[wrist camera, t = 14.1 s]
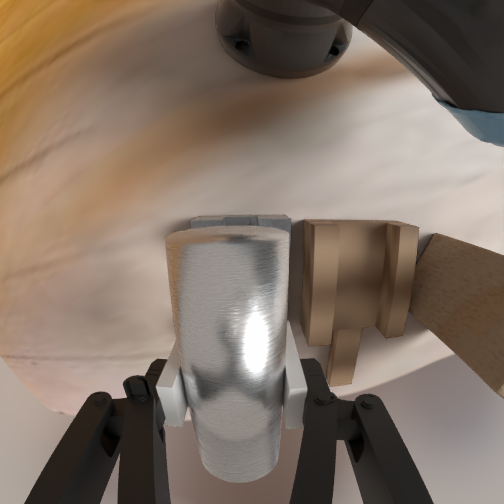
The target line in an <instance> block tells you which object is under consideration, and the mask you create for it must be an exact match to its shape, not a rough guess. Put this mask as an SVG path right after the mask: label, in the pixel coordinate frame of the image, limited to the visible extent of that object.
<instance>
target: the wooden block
mask: <svg viewBox="0 0 504 504" xmlns="http://www.w3.org/2000/svg"><path fill="white" fill-rule="evenodd" d="M408 312H410V313H411V314H412V315H413V316H414V317H415V318H417V319H418V320H419V321H420V322H421V323H422V324H423V325H425V326H426V327H427V328H428V329H429V330H430V331H431V332H432V333H434V334H435V335H436V336H437V337H438V338H439V339H440V340H441V341H442V342H443V343H445V344H446V345H447V346H448V347H449V348H450V349H451V350H452V351H453V352H454V353H455V354H456V355H458V356H459V357H460V358H461V359H462V360H463V361H464V362H465V363H466V364H467V365H468V366H469V367H470V368H471V369H472V370H473V371H475V373H476V374H477V375H478V376H479V377H480V378H481V379H482V380H483V381H484V382H485V383H486V384H488V386H489V387H490V388H491V389H493V391H494V392H496V393H497V394H498V395H500V396H501V397H502V398H504V255H501V254H498V253H495V252H493V251H490V250H487V249H484V248H481V247H478V246H475V245H472V244H469V243H466V242H463V241H460V240H457V239H454V238H451V237H448V236H444V235H441V234H438V233H435V234H434V235H433V237H432V239H431V241H430V242H429V244H428V246H427V247H426V249H425V251H424V252H423V254H422V256H421V257H420V259H419V261H418V262H417V264H416V265H415V272H414V280H413V286H412V292H411V298H410V304H409V309H408Z"/></svg>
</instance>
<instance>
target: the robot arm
mask: <svg viewBox="0 0 504 504" xmlns="http://www.w3.org/2000/svg"><path fill="white" fill-rule="evenodd" d="M215 23H216V29H217V33H218V37H219V40H220V42H221V44H222V46H223V47H224V49H225V50H226V51H227V53H228V54H229V55H230V56H231V57H232V58H234V59H235V60H236V61H237V62H239V63H240V64H242V65H243V66H245V67H247V68H249V69H251V70H254V71H256V72H259V73H262V74H265V75H269V76H274V77H281V78H300V77H308V76H312V75H315V74H318V73H321V72H323V71H325V70H327V69H329V68H330V67H332V66H333V65H334V64H336V63H337V62H338V60H339V59H340V58H341V57H342V55H343V54H344V53H345V51H346V50H347V48H348V46H349V44H350V41H351V38H352V25H354V26H355V27H356V28H357V29H359V30H360V31H362V32H363V33H364V34H366V35H367V36H368V37H370V38H371V39H372V40H374V41H375V42H376V43H378V44H379V45H380V46H381V47H383V48H384V49H385V50H386V51H388V52H389V53H390V54H391V55H392V56H394V57H395V58H396V59H397V60H398V61H399V62H400V63H402V64H403V65H404V66H405V67H406V68H407V69H408V70H409V71H410V72H411V73H413V74H414V75H415V76H416V77H417V78H418V79H419V80H420V81H421V82H422V83H423V84H424V85H425V86H426V87H427V88H428V89H429V90H430V91H431V92H432V96H433V97H434V99H435V100H436V101H437V102H438V103H439V104H440V105H442V106H443V107H445V108H446V109H447V110H448V111H449V112H450V113H451V114H452V115H453V116H454V117H455V118H456V119H457V120H458V121H459V122H460V124H461V125H462V126H463V127H464V128H465V129H466V130H467V131H468V132H469V133H470V134H471V135H473V136H474V137H476V138H477V139H479V140H481V141H484V142H487V143H492V144H494V145H496V146H501V147H504V0H220V2H219V4H218V7H217V10H216V16H215ZM123 387H124V390H125V393H126V395H127V398H122V399H112V397H111V395H110V394H109V393H106V392H95V393H93V394H91V395H90V396H89V397H88V398H87V400H86V401H85V403H84V404H83V406H82V407H81V409H80V411H79V412H78V414H77V415H76V417H75V418H74V420H73V422H72V423H71V424H70V426H69V428H68V429H67V431H66V432H65V434H64V436H63V437H62V439H61V440H60V442H59V444H58V445H57V447H56V449H55V450H54V452H53V454H52V455H51V457H50V459H49V460H48V462H47V464H46V466H45V467H44V469H43V471H42V472H41V474H40V476H39V478H38V479H37V481H36V483H35V485H34V486H33V488H32V490H31V492H30V494H29V496H28V498H27V500H26V501H25V503H24V504H100V502H101V499H102V496H103V494H104V491H105V489H106V486H107V484H108V481H109V479H110V476H111V473H112V471H113V468H114V466H115V464H116V461H117V459H118V456H119V454H120V463H119V478H118V504H171V501H170V493H169V484H168V472H167V459H166V443H165V430H164V427H163V424H164V421H165V420H166V423H167V426H172V427H181V428H182V427H183V423H184V419H185V415H186V411H187V407H188V401H187V396H186V391H185V386H184V381H183V376H182V370H181V365H180V359H179V353H178V347H177V340H176V342H175V345H174V347H173V349H172V351H171V353H170V356H169V358H168V359H156V360H155V361H154V362H153V363H151V365H150V367H149V369H148V371H147V373H146V375H145V377H144V376H139V375H136V376H131V377H129V378H127V379H126V380H125V381H124V382H123ZM283 411H284V418H285V425H286V429H295V428H302V423H303V425H304V431H303V437H302V443H301V449H300V454H299V459H298V465H297V470H296V475H295V480H294V485H293V489H292V494H291V499H290V503H289V504H332V497H333V486H334V474H335V459H336V441H337V440H344V441H345V445H346V448H347V451H348V454H349V457H350V460H351V464H352V467H353V470H354V473H355V477H356V480H357V483H358V486H359V490H360V493H361V497H362V500H363V503H364V504H434V503H433V501H432V499H431V497H430V495H429V493H428V490H427V488H426V486H425V484H424V482H423V480H422V478H421V476H420V474H419V472H418V469H417V467H416V465H415V463H414V461H413V460H412V458H411V455H410V454H409V451H408V449H407V448H406V446H405V444H404V442H403V440H402V438H401V436H400V434H399V432H398V430H397V428H396V427H395V424H394V423H393V421H392V419H391V417H390V415H389V413H388V411H387V410H386V408H385V406H384V404H383V402H382V400H381V399H380V398H379V397H378V396H376V395H373V394H363V395H360V396H358V397H357V398H356V399H355V401H346V400H341V399H338V398H337V396H336V395H335V394H334V393H332V392H330V389H329V387H328V384H327V381H326V378H325V376H324V373H323V370H322V368H321V365H320V363H319V362H318V361H317V360H316V359H314V358H310V359H299V355H298V352H297V348H296V344H295V341H294V337H293V334H292V330H291V326H290V323H289V321H287V338H286V359H285V375H284V391H283Z"/></svg>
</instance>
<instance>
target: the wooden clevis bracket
mask: <svg viewBox="0 0 504 504" xmlns="http://www.w3.org/2000/svg"><path fill="white" fill-rule="evenodd" d="M418 235H419V227H417V226H413V225H410V224H406V223H402V222H399V221H384V220H304V262H303V289H302V310H301V326H302V329H303V332H304V335H305V338H306V341H307V343H308V346H321V345H330V344H331V347H330V355H329V362H328V369H327V375H326V379H327V381H328V384H329V387H332V386H340V385H348V384H352V379H353V375H354V370H355V365H356V360H357V355H358V350H359V345H360V339H361V333H362V328H363V327H373V326H376V328H377V329H378V330H379V331H380V332H381V334H382V335H383V336H384V337H385V338H392V337H399V336H403V333H404V329H405V324H406V319H407V314H408V309H409V304H410V298H411V292H412V286H413V280H414V272H415V265H416V256H417V246H418ZM332 330H333V332H332ZM331 336H332V340H331Z"/></svg>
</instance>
